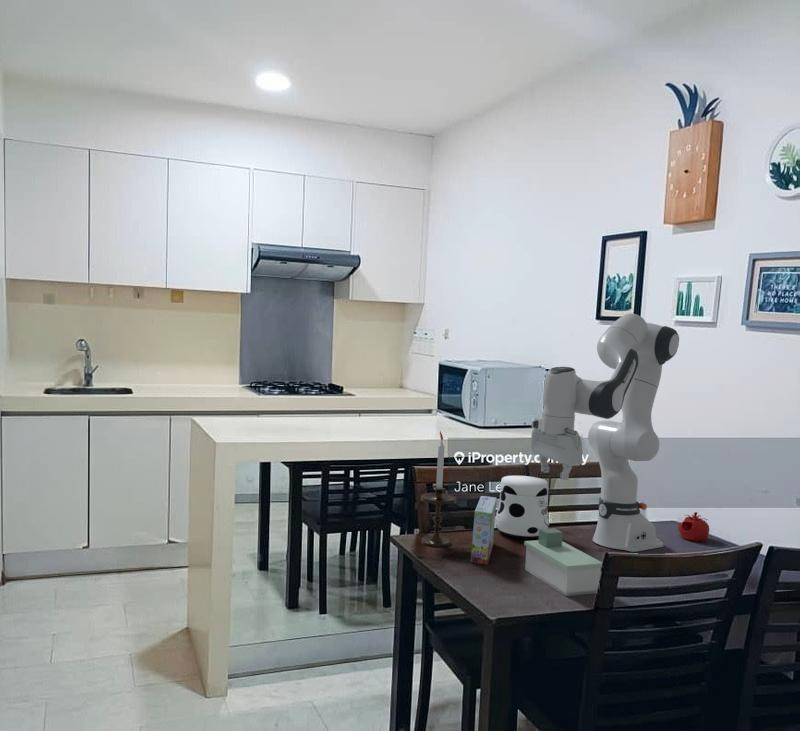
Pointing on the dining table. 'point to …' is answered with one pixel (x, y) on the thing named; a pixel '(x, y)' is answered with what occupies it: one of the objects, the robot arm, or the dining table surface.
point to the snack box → (483, 530)
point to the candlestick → (438, 503)
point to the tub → (562, 575)
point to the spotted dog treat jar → (522, 506)
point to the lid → (561, 551)
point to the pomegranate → (694, 528)
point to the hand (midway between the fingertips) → (554, 475)
